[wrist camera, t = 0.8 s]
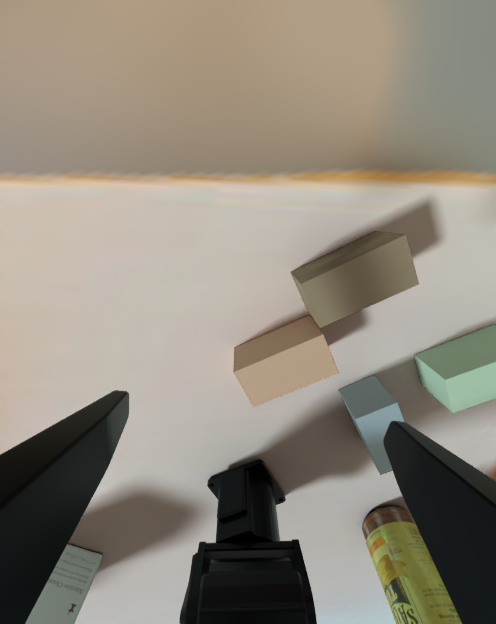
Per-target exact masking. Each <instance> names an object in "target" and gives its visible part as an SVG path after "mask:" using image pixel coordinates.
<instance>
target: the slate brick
mask: <svg viewBox="0 0 496 624" xmlns="http://www.w3.org/2000/svg"><path fill="white" fill-rule="evenodd" d="M338 390H339V392H340V394H341V397H342V399H343V401H344V403H345V405H346V407H347V410H348V412H349V414H350V416H351V418H352V420H353V423H354V425H355V427H356V429H357V431H358V433H359V436H360V438H361V440H362V442H363V444H364V446H365V447H366V449H367V451H368V453H369V455H370V457H371V458H372V460H373V462H374V464H375V466H376V468H377V470H378V471H379V473H380V475H382V474H384V473H387V472H390V471H392V467H391V464H390V462H389V459H388V456H387V453H386V451H385V448H384V444H383V439H384V436H385V434H386V431H387V429H388V426H389V424H390V422H391V421H402V422H404V419H403V416H402V414H401V411H400V408H399V406H398V403H397V401H396V400H395V399H394V398H393V397H392V396H391V394H390V393H389V392H388V391H387V390H386V388H385V387H384V386H383V385H382V384H381V382H380V381H379V380H378V379H377V378H376V377H375V375H372V376H369V377H367V378H364V379H362V380H360V381H357V382H355V383H353V384H350V385H348V386H345V387H343V388H341V389H338Z"/></svg>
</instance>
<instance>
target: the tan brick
mask: <svg viewBox="0 0 496 624" xmlns="http://www.w3.org/2000/svg"><path fill="white" fill-rule="evenodd" d="M233 372H234V374H235V376H236V378H237V379H238V381H239V383H240V385H241V386H242V388H243V390H244V392H245V393H246V395H247V397H248V399H249V400H250V402H251V404H252V406H253V407H255V406H258V405H260V404H263V403H265V402H268V401H270V400H273V399H275V398H278V397H280V396H283V395H285V394H288V393H290V392H293V391H295V390H297V389H300V388H302V387H305V386H307V385H310V384H312V383H315V382H317V381H320V380H322V379H325V378H327V377H330V376H332V375H335V374H337V373H339V372H338V369H337V367H336V364H335V362H334V359H333V357H332V355H331V352H330V350H329V347H328V345H327V342H326V340H325V337H324V335H323V333H322V332H321V330H320V329H319V327H318V326H317V325H316V323H315V322H314V320H313V319H312V318H311V316H310V315H308V316H306V317H304V318H301V319H299V320H297V321H294V322H292V323H290V324H288V325H285V326H283V327H281V328H278V329H276V330H274V331H271V332H269V333H267V334H264V335H262V336H260V337H258V338H255V339H253V340H251V341H248V342H246V343H244V344H241V345H239V346H237V347H234V371H233Z"/></svg>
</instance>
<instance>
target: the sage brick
mask: <svg viewBox="0 0 496 624" xmlns="http://www.w3.org/2000/svg"><path fill="white" fill-rule="evenodd" d="M414 357H415V361H416V365H417V369H418V373H419V377H420V381H421V384H422V385H423V386H424V387H425V388H426V389H427V390H428V391H429V392H430V393H431V394H432V395H433V396H434V397H435V398H436V399H438V400H439V401H440V402H441V403H442V404H443V405H444V406H445V407H446V408H447V409H448V410H449V411H450V412H451V413H455V412H458V411H461V410H464V409H467V408H470V407H472V406H475V405H478V404H481V403H484V402H487V401H490V400H493V399H496V325H491V326H489V327H486V328H483V329H481V330H478V331H475V332H473V333H470V334H468V335H465V336H462V337H460V338H457V339H454V340H452V341H449V342H446V343H444V344H441V345H439V346H436V347H433V348H431V349H428V350H425V351H423V352H420V353H417V354H415V355H414Z"/></svg>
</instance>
